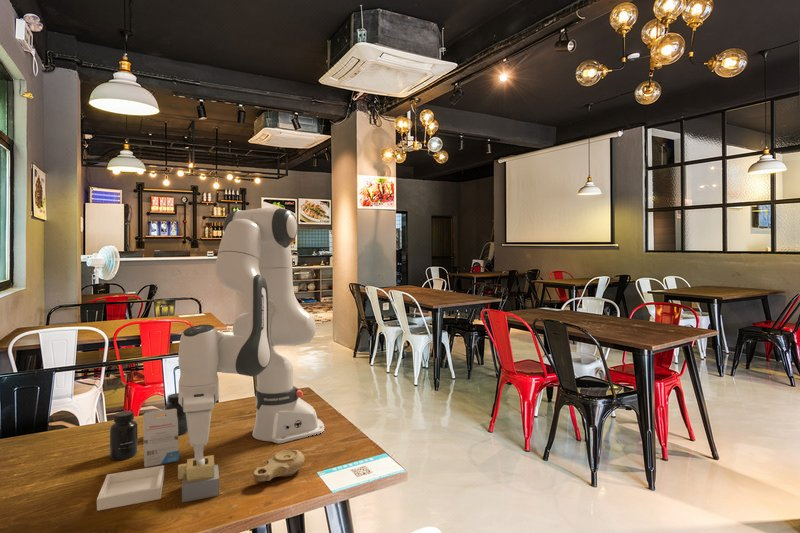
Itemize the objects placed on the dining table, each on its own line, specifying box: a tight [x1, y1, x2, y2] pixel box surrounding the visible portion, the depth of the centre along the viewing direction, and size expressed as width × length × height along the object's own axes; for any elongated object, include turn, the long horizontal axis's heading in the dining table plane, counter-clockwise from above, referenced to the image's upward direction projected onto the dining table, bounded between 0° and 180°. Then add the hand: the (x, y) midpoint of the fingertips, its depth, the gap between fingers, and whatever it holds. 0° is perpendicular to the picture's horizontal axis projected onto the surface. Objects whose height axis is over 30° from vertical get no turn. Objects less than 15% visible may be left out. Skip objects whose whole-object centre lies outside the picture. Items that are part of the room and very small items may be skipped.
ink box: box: [142, 409, 180, 468], centre depth 128 cm, size 9×5×15 cm, turn 117°
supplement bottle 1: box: [109, 410, 139, 461], centre depth 131 cm, size 7×7×12 cm
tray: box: [96, 464, 165, 511], centre depth 111 cm, size 13×13×3 cm
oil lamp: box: [252, 449, 305, 482], centre depth 119 cm, size 11×14×5 cm
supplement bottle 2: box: [164, 392, 188, 436], centre depth 148 cm, size 7×7×12 cm
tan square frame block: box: [177, 454, 215, 482], centre depth 111 cm, size 8×6×3 cm
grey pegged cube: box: [181, 459, 220, 503], centre depth 112 cm, size 8×8×8 cm
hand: (198, 451), depth 111 cm, fingers open, 8 cm apart
